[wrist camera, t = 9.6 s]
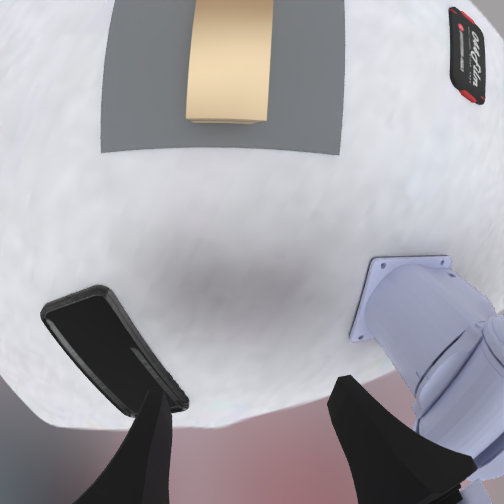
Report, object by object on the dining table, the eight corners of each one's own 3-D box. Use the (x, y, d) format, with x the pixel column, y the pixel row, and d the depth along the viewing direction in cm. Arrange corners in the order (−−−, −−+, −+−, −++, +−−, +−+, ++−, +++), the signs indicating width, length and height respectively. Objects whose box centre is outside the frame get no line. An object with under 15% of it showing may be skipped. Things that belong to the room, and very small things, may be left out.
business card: (450, 1, 10) (483, 29, 11) (445, 2, 11) (478, 30, 12) (452, 85, 14) (484, 110, 15) (446, 85, 15) (478, 109, 16)
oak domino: (249, 124, 14) (266, 120, 10) (194, 123, 14) (185, 118, 9) (258, -21, 10) (276, -64, 5) (208, -23, 10) (209, -69, 5)
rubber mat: (340, -8, 11) (343, -10, 11) (335, 154, 16) (339, 155, 15) (122, -18, 9) (120, -21, 8) (103, 152, 14) (100, 152, 13)
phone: (128, 418, 23) (35, 311, 17) (129, 410, 24) (40, 304, 18) (193, 409, 23) (104, 286, 17) (193, 400, 24) (109, 277, 18)
